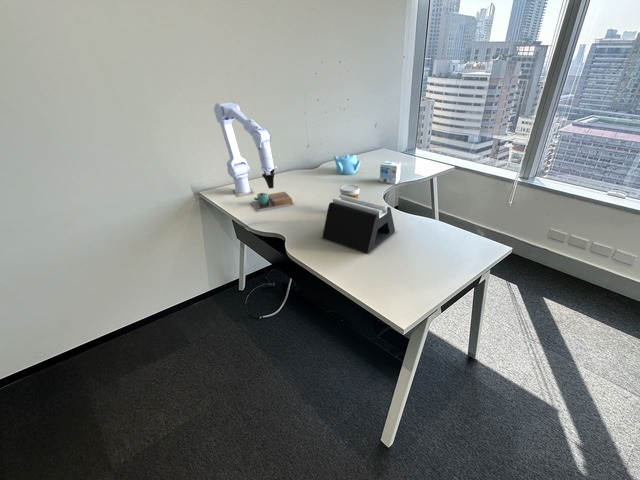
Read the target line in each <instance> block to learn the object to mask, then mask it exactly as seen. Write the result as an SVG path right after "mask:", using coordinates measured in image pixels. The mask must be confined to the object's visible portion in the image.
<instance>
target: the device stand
mask: <svg viewBox="0 0 640 480" xmlns="http://www.w3.org/2000/svg"><path fill="white" fill-rule="evenodd" d="M338 196H339V198H336V197H333V198H332V202H329V204H328V207H327V213H326V217H325V222H324V226H323V231H322V239H326V240H328V241H330V242H334V243H337V244H340V245H342V246H346V247H349V248H352V249H355V250H357V251H361V252H364V253H365V254H370V253H371V252H372V251H373V250H374V249H376V248H377V247H378V246H380V245H381V244H382V243H383V242H384V241H385V240H387V239H388V238H389V237H391V236H393V234H394V233H395V231H396V228H395V223H394V217H393V213H392V209H391V207H390V206H386V205H382V204H378V203H375V202H371V201H367V200H363V199H359V198H358V199H356V198H352V197H348V196H344V195H341V194H339V195H338Z"/></svg>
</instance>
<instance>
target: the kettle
mask: <svg viewBox="0 0 640 480" xmlns="http://www.w3.org/2000/svg"><path fill="white" fill-rule="evenodd" d="M268 199H269V198H268V194H267V193H266V192H259V193H257V194H256V197H253V200H254V201H258V203H259V205H267V204H268Z"/></svg>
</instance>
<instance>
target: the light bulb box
mask: <svg viewBox="0 0 640 480" xmlns="http://www.w3.org/2000/svg"><path fill="white" fill-rule="evenodd" d="M400 176H401V162H394V161H386V160H385V161H383V162H381V163H380V167H379V182H380V183H386V184H392V185H397V184H398V183H399V182H400Z"/></svg>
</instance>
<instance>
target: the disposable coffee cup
mask: <svg viewBox="0 0 640 480" xmlns="http://www.w3.org/2000/svg"><path fill="white" fill-rule="evenodd" d="M360 191H361V190H360V187H359V185H355V184H343V185H342V186H340V189H339V192H340V195H344V196H348V197H352V198H356V199H359V195H360Z"/></svg>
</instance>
